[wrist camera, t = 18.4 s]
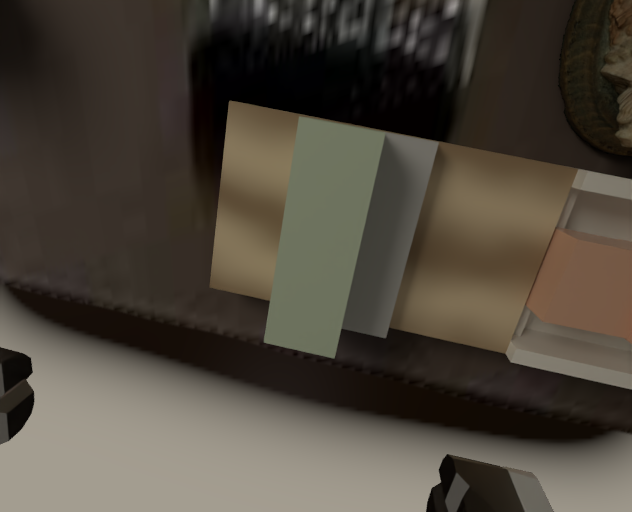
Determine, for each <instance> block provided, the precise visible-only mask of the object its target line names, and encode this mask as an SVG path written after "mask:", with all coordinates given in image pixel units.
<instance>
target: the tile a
mask: <svg viewBox="0 0 632 512" xmlns="http://www.w3.org/2000/svg"><path fill="white" fill-rule="evenodd" d="M525 305H526V306H527V307H528V308H529V309H530V310H531V311H532V312H533V313H534V314H535V315H536V316H537V317H538V318H539V319H540V320H541V321H542V322H546V323H551V324H556V325H561V326H566V327H571V328H576V329H581V330H586V331H591V332H596V333H601V334H606V335H611V336H616V337H621V338H626V339H628V337H629V335H630V333H631V331H632V242H628V241H623V240H618V239H614V238H609V237H604V236H599V235H594V234H589V233H584V232H579V231H574V230H569V229H564V228H559V227H555V230H554V232H553V235H552V237H551V240H550V242H549V245H548V248H547V250H546V253H545V255H544V258H543V260H542V263H541V265H540V268H539V270H538V273H537V275H536V278H535V280H534V283H533V285H532V288H531V291H530V293H529V296H528V298H527V301H526V303H525Z"/></svg>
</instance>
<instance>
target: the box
mask: <svg viewBox="0 0 632 512" xmlns="http://www.w3.org/2000/svg"><path fill="white" fill-rule="evenodd" d="M566 167H567V166H566ZM571 168H572V167H571ZM576 169H577V168H576ZM556 227H559V228H564V229H569V230H574V231H579V232H584V233H589V234H594V235H599V236H604V237H609V238H614V239H622V240H627V241H632V179H628V178H623V177H618V176H613V175H607V174H602V173H597V172H592V171H587V170H582V169H578V172H577V174H576V177H575V179H574V182H573V184H572V187H571V189H570V192H569V194H568V197H567V199H566V202H565V205H564V207H563V210H562V212H561V215H560V217H559V220H558V222H557V225H556ZM506 355H507V357H508V359H509V360H510V362H512V363H516V364H521V365H525V366H530V367H534V368H539V369H543V370H547V371H552V372H556V373H561V374H565V375H570V376H574V377H579V378H583V379H587V380H592V381H596V382H601V383H605V384H610V385H614V386H618V387H623V388H627V389H632V344H631V343H630V342H628V341H627V340H626V339H624V338H621V337H616V336H611V335H606V334H601V333H596V332H591V331H586V330H581V329H576V328H571V327H566V326H561V325H556V324H551V323H546V322H542V321H541V320H540V319H539V318H538V317H537V316H536V315H535V314H534V313H533V312H532V311H531V310H530V309H529V308H528V307H527V306H526V305H525V306H524V308H523V311H522V313H521V316H520V318H519V321H518V323H517V326H516V328H515V331H514V333H513V336H512V339H511V341H510V344H509V346H508V349H507V351H506Z"/></svg>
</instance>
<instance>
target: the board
mask: <svg viewBox="0 0 632 512" xmlns="http://www.w3.org/2000/svg"><path fill="white" fill-rule="evenodd" d="M299 116H300V117H308V118H315V119H320V120H325V121H330V122H336V123H341V124H346V125H351V126H356V127H362V126H357V125H352V124H347V123H342V122H337V121H332V120H327V119H322V118H316V117H311V116H306V115H301V114H296V113H291V112H286V111H281V110H276V109H271V108H265V107H260V106H255V105H250V104H245V103H240V102H234V101H229V108H228V118H227V127H226V137H225V146H224V156H223V165H222V175H221V184H220V194H219V203H218V213H217V222H216V232H215V241H214V250H213V260H212V269H211V279H210V287H211V288H215V289H219V290H224V291H228V292H233V293H237V294H242V295H246V296H251V297H255V298H260V299H264V300H269V301H270V299H271V293H272V286H273V280H274V273H275V267H276V261H277V254H278V248H279V242H280V235H281V229H282V222H283V216H284V210H285V203H286V197H287V190H288V184H289V178H290V171H291V165H292V158H293V152H294V146H295V139H296V133H297V127H298V120H299ZM362 128H367V129H372V130H377V131H383V130H378V129H373V128H368V127H362ZM383 132H388V131H383ZM388 133H393V132H388ZM393 134H398V133H393ZM398 135H403V134H398ZM404 136H408V135H404ZM409 137H413V136H409ZM414 138H419V137H414ZM419 139H424V138H419ZM425 140H429V139H425ZM430 141H434V140H430ZM435 142H439V141H435ZM577 172H578V169H576V168H571V167H566V166H561V165H556V164H551V163H546V162H541V161H536V160H531V159H526V158H521V157H516V156H510V155H505V154H500V153H495V152H490V151H485V150H480V149H475V148H470V147H464V146H459V145H454V144H449V143H444V142H439V144H438V148H437V151H436V155H435V159H434V163H433V166H432V170H431V174H430V177H429V181H428V185H427V188H426V192H425V196H424V199H423V203H422V207H421V211H420V214H419V218H418V222H417V225H416V229H415V233H414V236H413V240H412V244H411V247H410V251H409V255H408V258H407V262H406V266H405V270H404V273H403V277H402V281H401V284H400V288H399V292H398V295H397V299H396V303H395V306H394V310H393V314H392V317H391V321H390V325H389V328H393V329H398V330H402V331H407V332H411V333H416V334H420V335H425V336H429V337H434V338H438V339H442V340H447V341H451V342H456V343H460V344H465V345H469V346H474V347H478V348H483V349H487V350H492V351H496V352H500V353H505V354H506V351H507V349H508V346H509V344H510V341H511V339H512V336H513V333H514V331H515V328H516V326H517V323H518V321H519V318H520V316H521V313H522V311H523V308H524V306H525V303H526V301H527V298H528V296H529V293H530V291H531V288H532V285H533V283H534V280H535V278H536V275H537V273H538V270H539V268H540V265H541V263H542V260H543V258H544V255H545V253H546V250H547V248H548V245H549V242H550V240H551V237H552V235H553V232H554V230H555V227H556V225H557V222H558V220H559V217H560V215H561V212H562V210H563V207H564V205H565V202H566V199H567V197H568V194H569V192H570V189H571V187H572V184H573V182H574V179H575V177H576V174H577Z"/></svg>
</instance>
